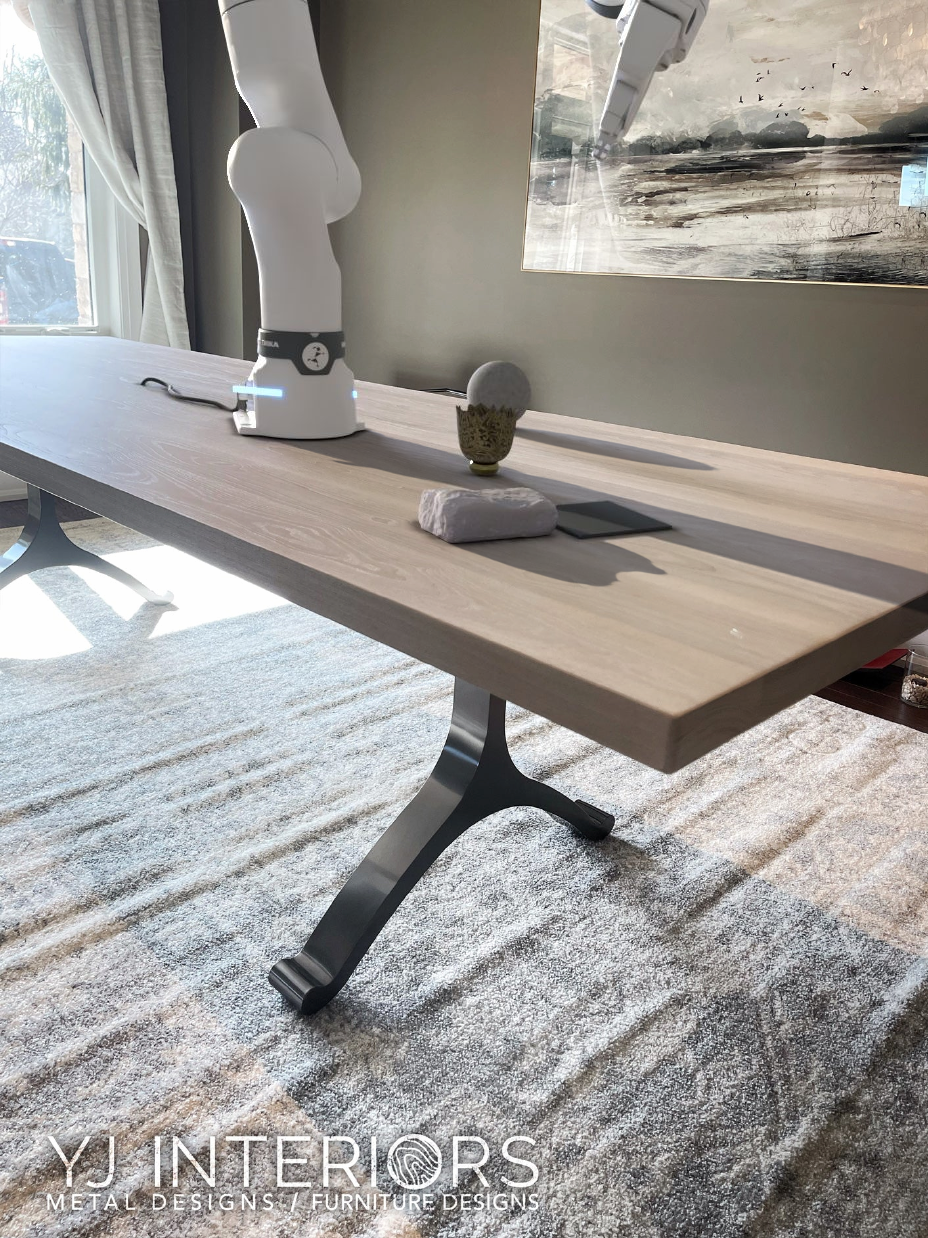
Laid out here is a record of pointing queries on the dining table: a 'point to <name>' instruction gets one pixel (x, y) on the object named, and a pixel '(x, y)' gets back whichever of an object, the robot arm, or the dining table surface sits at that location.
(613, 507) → the slate coaster
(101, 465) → the dining table surface
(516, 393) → the decorative ball
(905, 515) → the dining table surface
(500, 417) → the cup
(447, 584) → the dining table surface
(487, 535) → the stone block
